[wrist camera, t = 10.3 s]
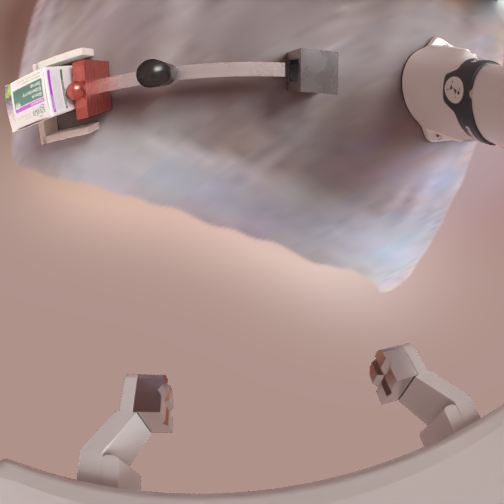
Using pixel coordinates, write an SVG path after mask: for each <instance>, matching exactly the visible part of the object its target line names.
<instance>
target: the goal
mask: <svg viewBox="0 0 504 504" xmlns="http://www.w3.org/2000/svg"><path fill="white" fill-rule="evenodd" d="M91 56H94V52H93V49H88V48H79V49H76V50H72V51H69V52H66V53H63V54H60V55H57V56H55V57H52V58H49V59H46V60H44V61H41V62H39V63H36V64H34V65H33V72H34V71H36V70H39V69H41V68H43V67H55V66H61V65H64V64H67V63H70V62H73V61H77V60H80V59H84V58H87V57H91ZM38 127H39V133H40V140H41V145H44V144H48V143H51V142H55V141H59V140H63V139H67V138H72V137H76V136H81V135H85V134H89V133H91V132H93V131H95V130H97V129H99V122H95V123H90V124H85V125H81V126H77V127H72V128H68V129H64V130H60V131H58V124H57V116H56V117H53V118H50V119H48V120H45V121H43V122H40V123H38Z"/></svg>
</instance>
